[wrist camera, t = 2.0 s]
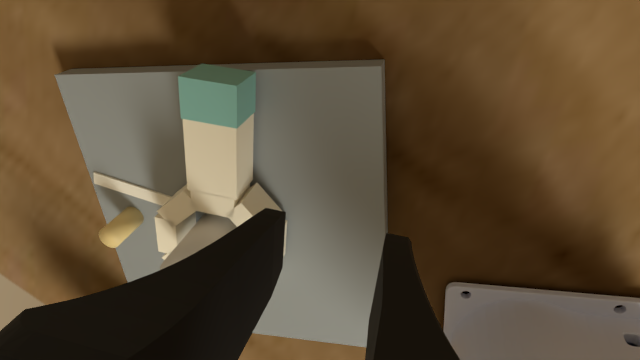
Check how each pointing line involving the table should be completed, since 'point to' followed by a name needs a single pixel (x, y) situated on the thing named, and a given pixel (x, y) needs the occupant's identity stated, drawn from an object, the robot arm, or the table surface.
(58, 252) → the table surface
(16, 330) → the robot arm
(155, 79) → the post board
